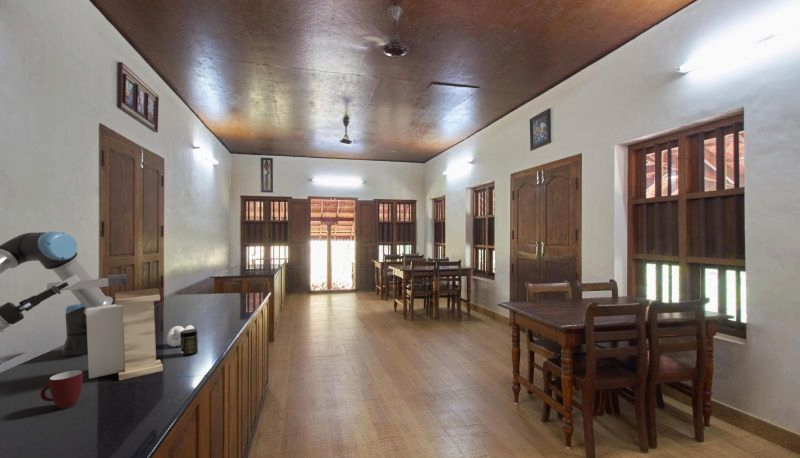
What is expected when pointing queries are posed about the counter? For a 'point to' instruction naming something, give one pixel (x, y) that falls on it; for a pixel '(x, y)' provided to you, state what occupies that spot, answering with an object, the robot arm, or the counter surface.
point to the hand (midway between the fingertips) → (77, 277)
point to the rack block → (104, 340)
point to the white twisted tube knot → (176, 335)
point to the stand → (138, 332)
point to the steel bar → (95, 282)
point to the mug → (64, 388)
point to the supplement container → (189, 342)
